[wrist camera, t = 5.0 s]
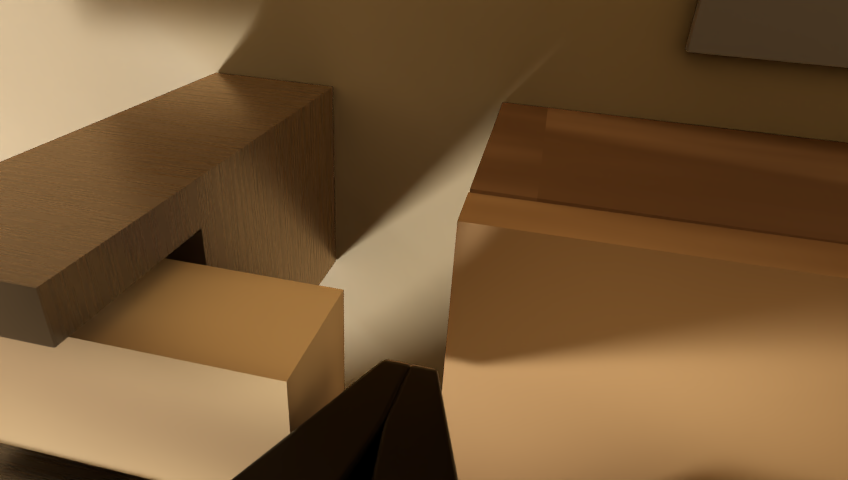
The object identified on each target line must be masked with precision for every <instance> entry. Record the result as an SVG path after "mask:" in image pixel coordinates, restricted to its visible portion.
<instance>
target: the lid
mask: <svg viewBox="0 0 848 480" xmlns="http://www.w3.org/2000/svg"><path fill="white" fill-rule="evenodd" d="M442 396H443V402H444V407H445V412H446V417H447V423H448V428H449V433H450V439H451V444H452V449H453V454H454V460H455V465H456V470H457V475H458V480H848V245H847V244H839V243H832V242H825V241H818V240H810V239H803V238H796V237H789V236H781V235H774V234H767V233H760V232H752V231H745V230H738V229H731V228H723V227H716V226H709V225H702V224H695V223H687V222H680V221H673V220H666V219H658V218H651V217H644V216H637V215H629V214H622V213H615V212H608V211H600V210H593V209H586V208H579V207H571V206H564V205H557V204H550V203H542V202H535V201H528V200H521V199H514V198H506V197H499V196H492V195H485V194H477V193H470V192H468V195H467V197H466V200H465V203H464V205H463V208H462V211H461V213H460V216H459V219H458V221H457V232H456V243H455V254H454V265H453V276H452V287H451V298H450V309H449V320H448V330H447V341H446V352H445V363H444V374H443V385H442Z"/></svg>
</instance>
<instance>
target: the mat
mask: <svg viewBox="0 0 848 480" xmlns="http://www.w3.org/2000/svg"><path fill="white" fill-rule="evenodd" d="M685 50H686V51H687V52H693V53H703V54H713V55H723V56H733V57H743V58H753V59H763V60H774V61H784V62H794V63H804V64H814V65H824V66H834V67H844V68H848V0H698V3H697V6H696V10H695V14H694V18H693V21H692V25H691V29H690V33H689V36H688V40H687V44H686V48H685Z"/></svg>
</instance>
